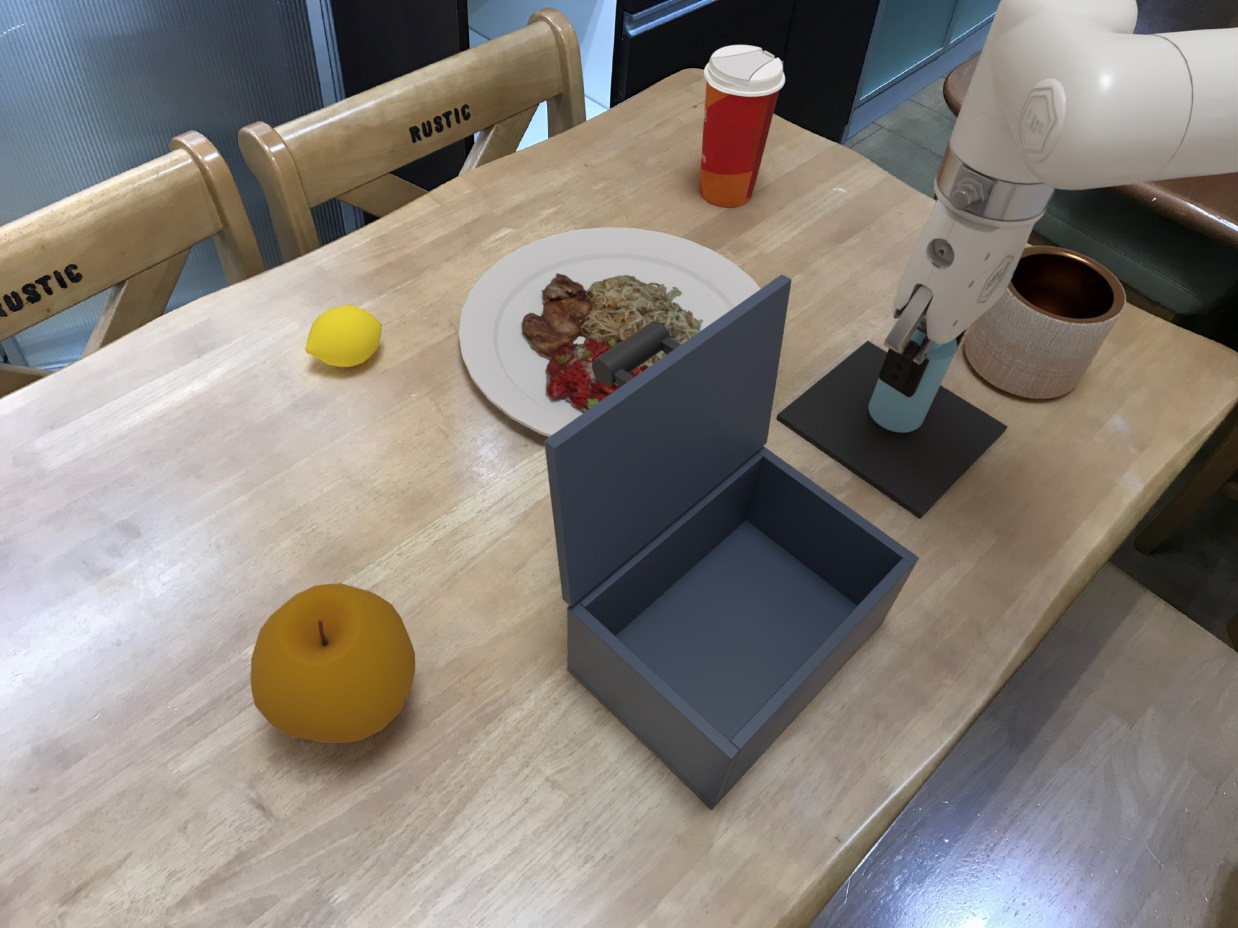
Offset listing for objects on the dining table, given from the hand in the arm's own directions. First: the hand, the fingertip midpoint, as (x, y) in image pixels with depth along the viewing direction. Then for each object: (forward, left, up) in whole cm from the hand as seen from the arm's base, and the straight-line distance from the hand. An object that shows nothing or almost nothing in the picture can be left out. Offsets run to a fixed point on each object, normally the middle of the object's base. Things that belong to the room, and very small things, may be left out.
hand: (915, 368), depth 73 cm
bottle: (0, 0, -5) cm, 5 cm away
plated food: (+24, +10, -7) cm, 27 cm away
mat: (0, 0, -7) cm, 7 cm away
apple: (+11, +49, -7) cm, 51 cm away
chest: (-4, +27, -7) cm, 28 cm away
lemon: (+39, +30, -7) cm, 50 cm away
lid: (+3, +27, +9) cm, 29 cm away
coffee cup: (+33, -16, -7) cm, 37 cm away
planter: (-4, -16, -7) cm, 18 cm away
